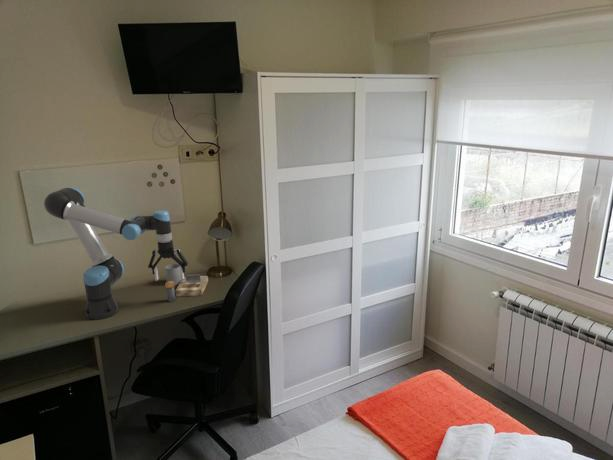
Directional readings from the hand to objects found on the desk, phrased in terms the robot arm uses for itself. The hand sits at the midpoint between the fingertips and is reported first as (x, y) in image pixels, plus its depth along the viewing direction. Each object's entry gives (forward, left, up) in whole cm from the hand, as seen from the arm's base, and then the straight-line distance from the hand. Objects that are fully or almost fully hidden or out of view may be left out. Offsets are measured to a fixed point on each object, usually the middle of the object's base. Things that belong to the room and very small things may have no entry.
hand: (170, 279), depth 240 cm
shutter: (+8, +18, -9) cm, 22 cm away
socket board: (+8, +15, -12) cm, 21 cm away
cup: (-5, +26, -12) cm, 29 cm away
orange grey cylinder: (0, 0, -12) cm, 12 cm away
